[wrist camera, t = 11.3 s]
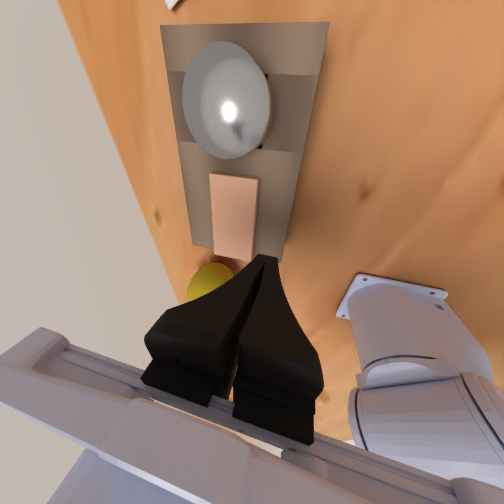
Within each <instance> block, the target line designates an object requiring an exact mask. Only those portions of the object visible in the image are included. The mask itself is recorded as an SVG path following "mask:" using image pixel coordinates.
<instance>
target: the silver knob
mask: <svg viewBox="0 0 504 504" xmlns="http://www.w3.org/2000/svg"><path fill="white" fill-rule="evenodd" d="M182 103H183V111H184V115H185V119H186V122H187V125H188V127H189V130H190V132H191V134H192V135H193V137H194V138H195V140H196V141H197V143H198V144H199V145H200V146H201V147H202V148H203V149H204V150H205V151H207V152H208V153H210V154H212V155H214V156H216V157H219V158H223V159H232V158H237V157H240V156H243V155H245V154H248V153H250V152H252V151H254V150H256V149H257V148H258V147H259V146H260V145H261V144H262V143H263V142H264V141H265V139H266V138H267V136H268V134H269V132H270V129H271V126H272V122H273V117H274V99H273V93H272V90H271V87H270V84H269V82H268V80H267V78H266V76H265V75H264V73H263V72H262V70H261V69H260V68H259V66H258V65H257V63H256V62H255V61H254V59H253V58H252V57H251V56H250V55H249V54H248V52H247V51H245V50H244V49H243V48H241V47H240V46H238V45H236V44H234V43H230V42H225V41H219V42H213V43H210V44H208V45H206V46H205V47H203V48H202V49H201V50H199V51H198V52H197V54H196V55H195V56H194V57H193V59H192V60H191V62H190V64H189V66H188V68H187V71H186V74H185V77H184V82H183V89H182Z"/></svg>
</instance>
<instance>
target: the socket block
mask: <svg viewBox="0 0 504 504" xmlns="http://www.w3.org/2000/svg"><path fill="white" fill-rule="evenodd" d="M329 24H330V22H297V23H246V24H195V25H160V30H161V37H162V43H163V50H164V57H165V63H166V70H167V77H168V83H169V90H170V97H171V103H172V110H173V117H174V123H175V130H176V137H177V143H178V150H179V157H180V163H181V170H182V177H183V183H184V190H185V197H186V203H187V210H188V217H189V223H190V230H191V237H192V243H193V245H195V246H200V247H205V248H210V249H214V240H213V225H212V209H211V194H210V178H209V173H212V172H218V173H226V174H234V175H242V176H249V177H257V178H260V179H259V190H258V202H257V214H256V225H255V237H254V248H253V257H255V256H256V255H257V254H263V255H268V256H273V257H277V258H278V263H281V260H282V255H283V250H284V245H285V240H286V235H287V230H288V225H289V220H290V215H291V211H292V206H293V201H294V196H295V191H296V186H297V181H298V176H299V171H300V166H301V161H302V156H303V152H304V147H305V142H306V137H307V132H308V127H309V122H310V117H311V112H312V107H313V102H314V97H315V93H316V88H317V83H318V78H319V73H320V68H321V63H322V58H323V53H324V48H325V43H326V39H327V34H328V29H329ZM219 41H225V42H230V43H234V44H236V45H238V46H240V47H241V48H243V49H244V50H245V51H247V52H248V54H249V55H250V56H251V57H252V58H253V59H254V61H255V62H256V63H257V65H258V66H259V68H260V69H261V70H262V72H263V73H264V75H265V76H266V78H267V80H268V82H269V84H270V87H271V90H272V93H273V99H274V117H273V122H272V126H271V129H270V132H269V134H268V136H267V138H266V139H265V141H264V142H263V144H262V145H260V146H259V147H258V148H257V149H256V150H254V151H252V152H250V153H248V154H245V155H243V156H240V157H237V158H232V159H223V158H219V157H216V156H214V155H212V154H210V153H208V152H207V151H205V150H204V149H203V148H202V147H201V146H200V145H199V144H198V143H197V141H196V140H195V138H194V137H193V135H192V134H191V132H190V130H189V127H188V125H187V122H186V119H185V115H184V111H183V103H182V89H183V82H184V77H185V74H186V71H187V68H188V66H189V64H190V62H191V60H192V59H193V57H194V56H195V55H196V54H197V52H198V51H199V50H201V49H202V48H203V47H205V46H206V45H208V44H210V43H213V42H219Z"/></svg>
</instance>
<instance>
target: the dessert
mask: <svg viewBox="0 0 504 504" xmlns="http://www.w3.org/2000/svg"><path fill="white" fill-rule="evenodd" d="M164 1H165V3H166V5H167V7H168V9H169V10H171V9H172V8H173V7H174V5H175V4H176V3H177V2H178V1H179V0H164Z"/></svg>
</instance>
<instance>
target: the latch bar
mask: <svg viewBox="0 0 504 504" xmlns="http://www.w3.org/2000/svg"><path fill="white" fill-rule="evenodd" d="M209 178H210V194H211V209H212V225H213V240H214V254H215V255H220V256H225V257H230V258H234V259H239V260H244V261H249V262H251V260H252V258H253V248H254V237H255V225H256V214H257V202H258V190H259V179H260V178H257V177H249V176H242V175H234V174H226V173H218V172H212V173H209Z"/></svg>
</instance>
